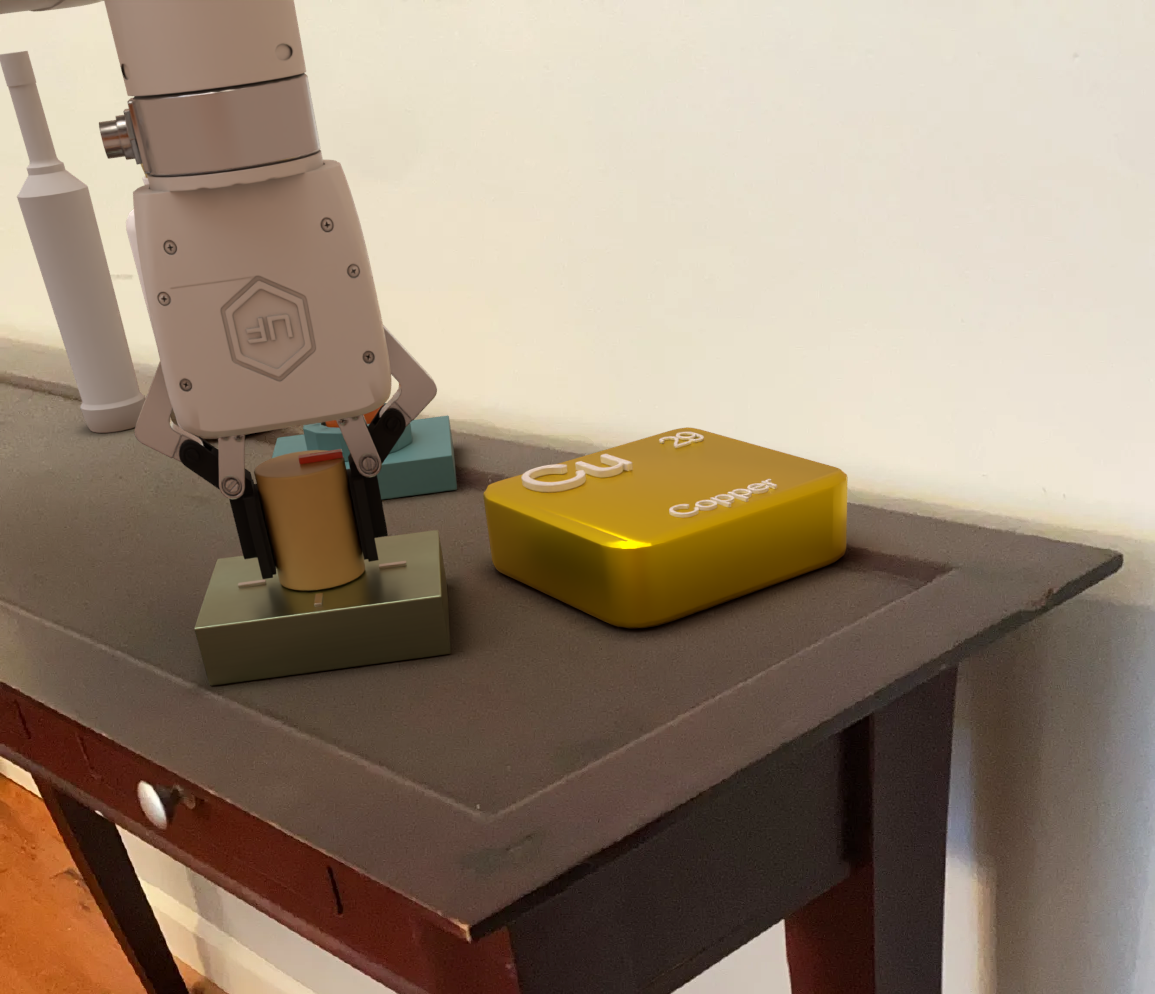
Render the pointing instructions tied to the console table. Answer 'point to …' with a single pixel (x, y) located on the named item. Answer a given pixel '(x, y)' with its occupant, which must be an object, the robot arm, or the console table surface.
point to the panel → (326, 615)
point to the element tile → (666, 525)
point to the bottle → (73, 265)
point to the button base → (393, 456)
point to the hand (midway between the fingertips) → (319, 557)
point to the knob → (310, 519)
